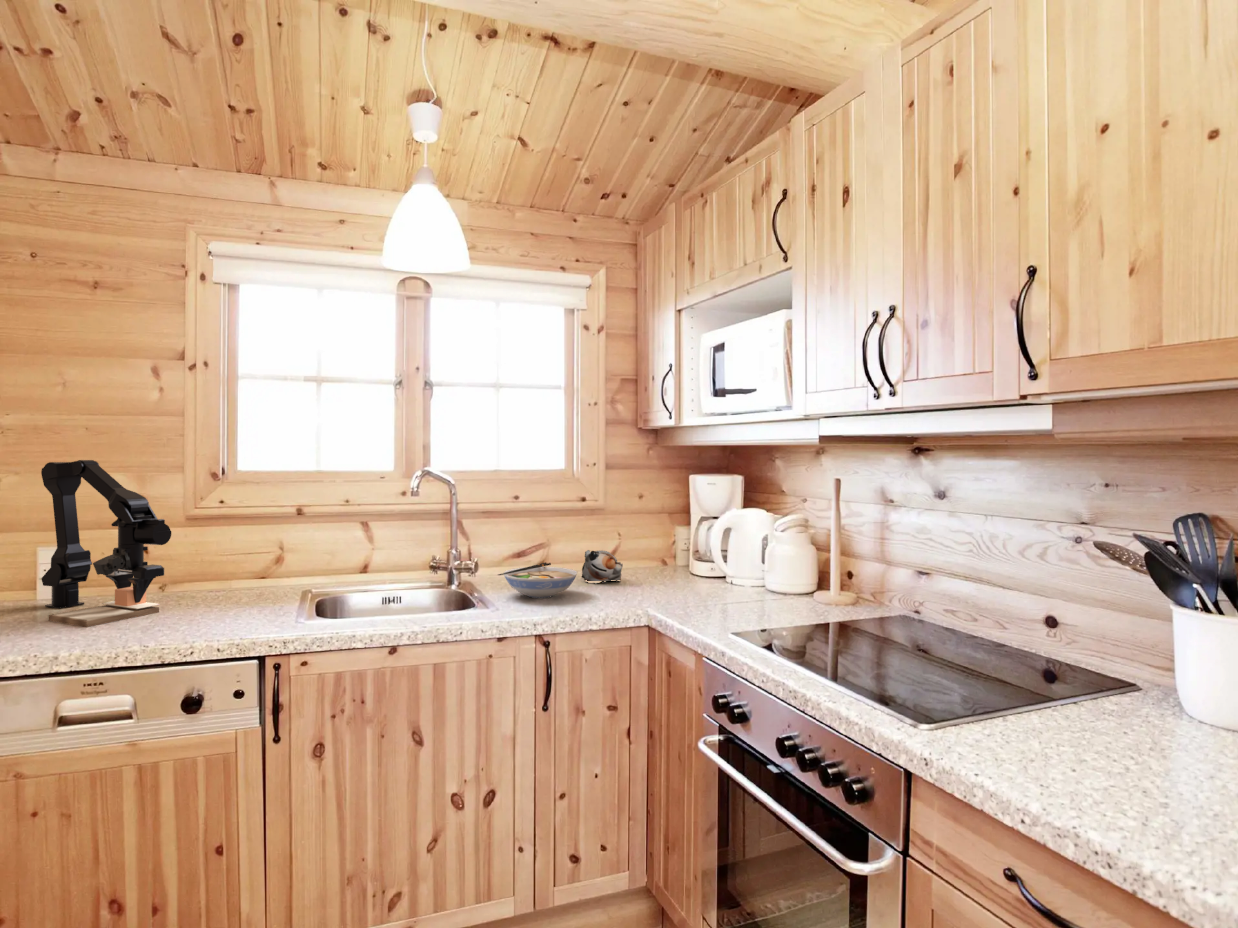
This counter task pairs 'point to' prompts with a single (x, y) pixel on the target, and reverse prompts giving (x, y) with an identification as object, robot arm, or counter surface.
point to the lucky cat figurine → (601, 566)
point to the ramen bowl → (540, 580)
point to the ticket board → (100, 615)
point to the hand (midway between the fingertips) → (130, 601)
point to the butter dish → (129, 599)
